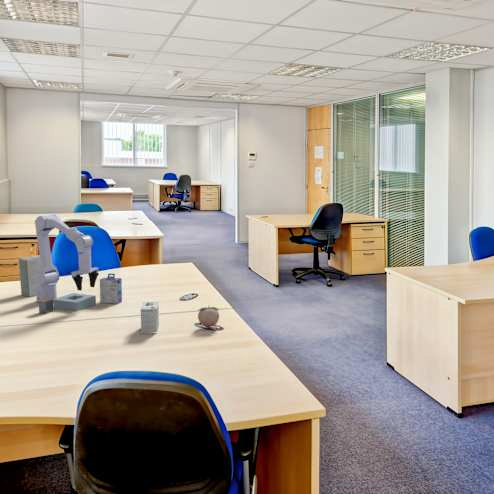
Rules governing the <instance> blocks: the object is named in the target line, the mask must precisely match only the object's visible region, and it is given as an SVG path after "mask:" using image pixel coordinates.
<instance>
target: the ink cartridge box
mask: <svg viewBox="0 0 494 494" xmlns="http://www.w3.org/2000/svg"><path fill="white" fill-rule="evenodd" d="M115 276H116V274H115V273H108V275H107V277H103V278H100V279H99V302H100V304H101V303H103V304H120V303H122V302H123V288H122V287H123V286H122V283H123V282H122V278H119V277H115Z"/></svg>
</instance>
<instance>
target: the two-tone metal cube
mask: <svg viewBox="0 0 494 494" xmlns="http://www.w3.org/2000/svg"><path fill="white" fill-rule="evenodd" d="M54 309H55V308H54V303H53V298H49V297H45V298H42V299H39V302H38V312H39V314H43V315H47V314H50V313H53V312H54Z"/></svg>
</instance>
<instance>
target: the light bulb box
mask: <svg viewBox="0 0 494 494" xmlns="http://www.w3.org/2000/svg"><path fill="white" fill-rule="evenodd" d="M159 306H160V305H159V301H154V302H150V301H148V302H143V303H142V306H141V308H140V334H141V333H150V332H151V333H150V334H153V333H152V332H157V333H158V329H159V327H158V326H160V318H159V317H160V315H159V313H160V312H159V311H160V310H159V309H160V308H159Z"/></svg>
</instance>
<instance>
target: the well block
mask: <svg viewBox="0 0 494 494" xmlns="http://www.w3.org/2000/svg"><path fill="white" fill-rule="evenodd" d="M96 297H97V296H96V295H91V294H85V293H77V292H72V293H68V294H66V295H63V296H60V297H57V298H56V299H53V302H54V303H53V307H54V309H60V310H67V311H74V312H78V311H80V310H83V309H86V308H89V307H91V306H94V305H96V304H97V303H96V301H97V300H96V299H97V298H96Z"/></svg>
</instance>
